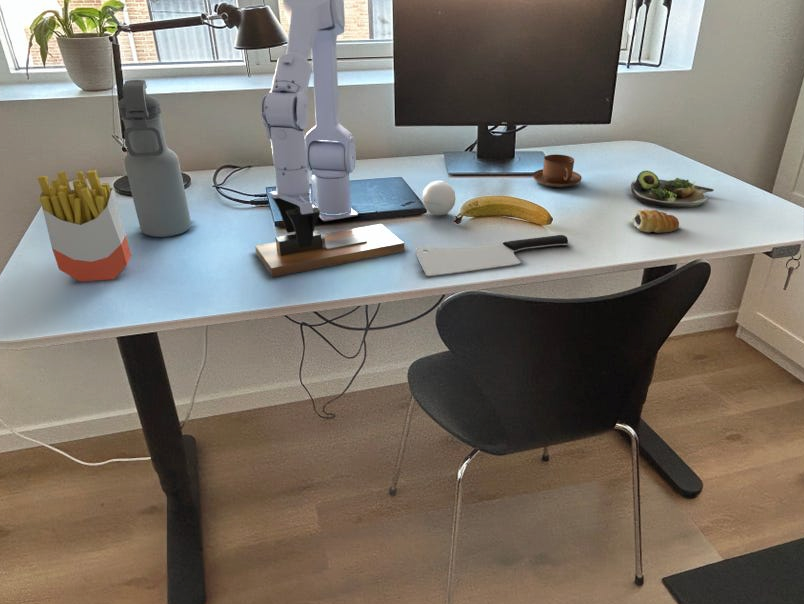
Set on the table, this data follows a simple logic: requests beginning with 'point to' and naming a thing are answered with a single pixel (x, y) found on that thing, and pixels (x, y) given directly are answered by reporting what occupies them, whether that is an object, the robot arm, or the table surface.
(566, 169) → the cup and saucer
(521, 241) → the kitchen cleaver
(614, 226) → the table surface
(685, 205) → the salad plate
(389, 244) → the cutting board
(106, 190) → the french fries container
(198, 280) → the table surface
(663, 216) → the pastry
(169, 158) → the water bottle
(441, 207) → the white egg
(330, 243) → the two-tone stepped block
